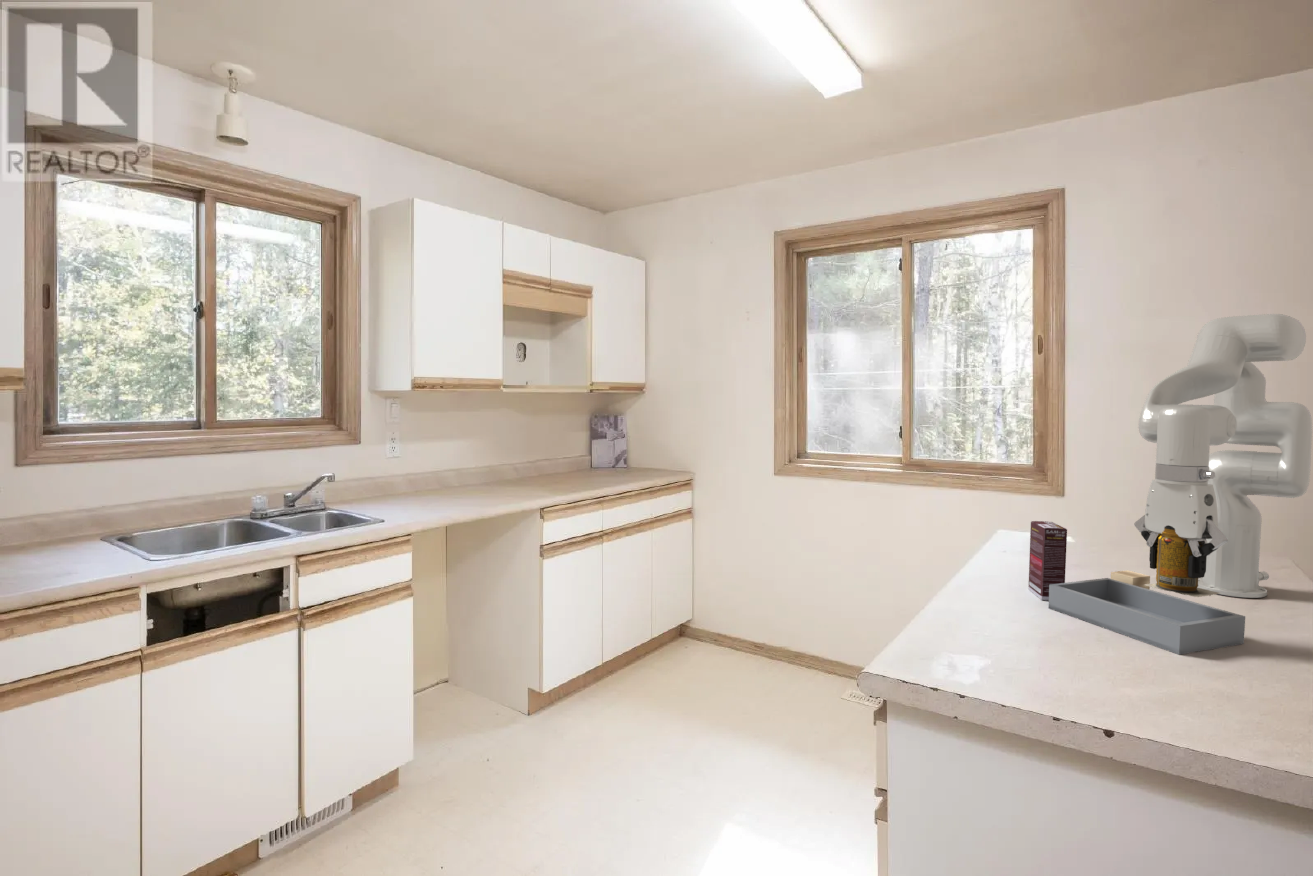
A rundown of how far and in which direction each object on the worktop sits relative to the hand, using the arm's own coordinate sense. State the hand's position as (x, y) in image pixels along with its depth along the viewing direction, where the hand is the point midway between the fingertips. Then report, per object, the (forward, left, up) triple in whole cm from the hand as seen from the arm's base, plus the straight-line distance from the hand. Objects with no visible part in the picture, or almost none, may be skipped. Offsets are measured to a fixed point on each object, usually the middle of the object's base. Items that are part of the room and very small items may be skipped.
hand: (1176, 571), depth 122 cm
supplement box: (+1, -27, -12) cm, 29 cm away
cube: (-16, -21, -12) cm, 29 cm away
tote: (0, -7, -12) cm, 14 cm away
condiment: (0, +1, -3) cm, 3 cm away
